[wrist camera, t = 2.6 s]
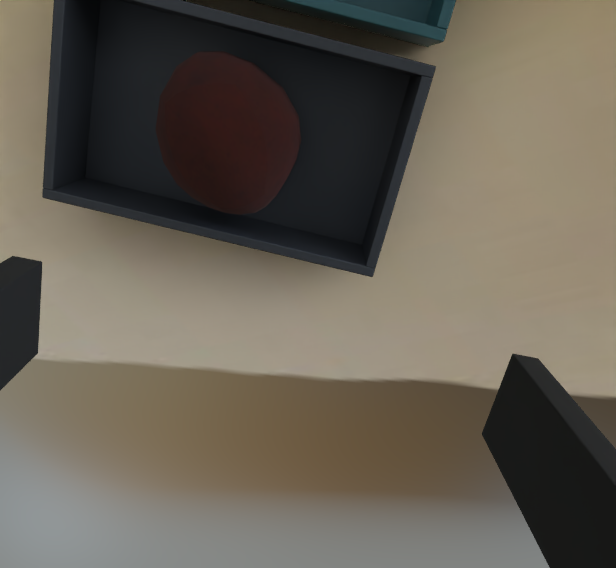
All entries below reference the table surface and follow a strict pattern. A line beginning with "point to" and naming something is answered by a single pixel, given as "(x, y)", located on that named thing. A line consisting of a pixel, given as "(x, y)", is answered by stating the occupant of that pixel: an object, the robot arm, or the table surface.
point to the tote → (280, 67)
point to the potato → (227, 132)
